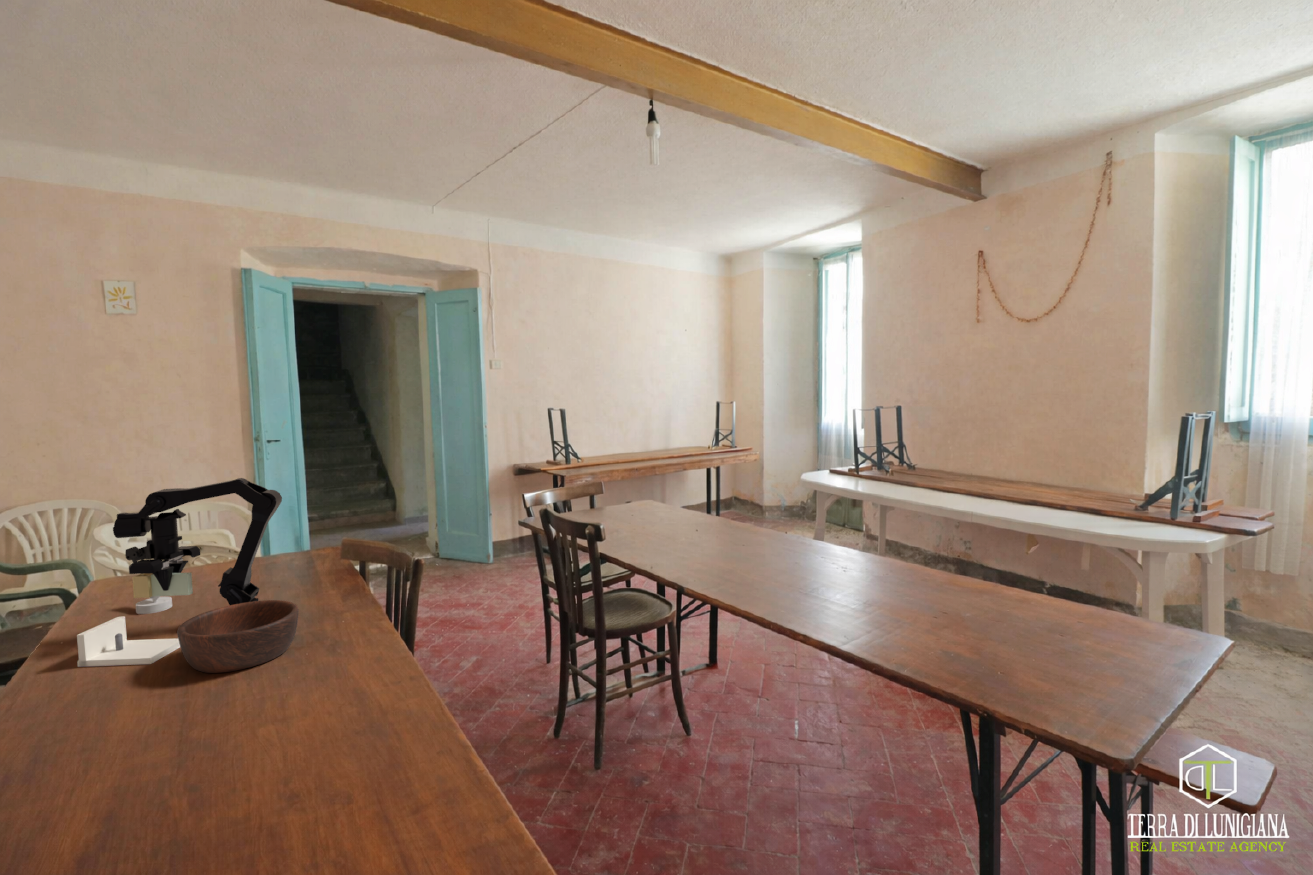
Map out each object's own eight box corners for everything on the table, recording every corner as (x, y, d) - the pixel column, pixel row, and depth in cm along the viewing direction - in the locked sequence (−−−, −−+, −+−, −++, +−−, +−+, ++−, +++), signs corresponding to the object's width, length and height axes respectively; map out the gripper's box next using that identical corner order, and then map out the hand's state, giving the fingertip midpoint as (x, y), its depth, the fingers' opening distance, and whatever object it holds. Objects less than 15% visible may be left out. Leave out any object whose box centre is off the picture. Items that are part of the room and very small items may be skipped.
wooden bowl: (240, 683, 134) (237, 640, 134) (152, 674, 139) (149, 632, 139) (322, 639, 159) (320, 602, 158) (245, 632, 164) (243, 596, 163)
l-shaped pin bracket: (186, 643, 157) (184, 614, 156) (150, 663, 145) (148, 632, 144) (119, 645, 156) (117, 616, 155) (77, 666, 144) (75, 635, 143)
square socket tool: (195, 591, 168) (194, 571, 167) (185, 596, 164) (184, 575, 163) (145, 593, 167) (143, 572, 166) (133, 598, 163) (132, 576, 162)
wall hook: (164, 572, 189) (173, 578, 183) (166, 601, 190) (175, 607, 184) (129, 579, 183) (137, 585, 177) (131, 609, 183) (140, 616, 177)
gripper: (160, 527, 173) (163, 579, 174) (105, 543, 154) (109, 601, 155) (199, 527, 173) (203, 578, 175) (149, 542, 155) (153, 600, 156)
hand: (168, 589), depth 165 cm, fingers closed on square socket tool, 2 cm apart
